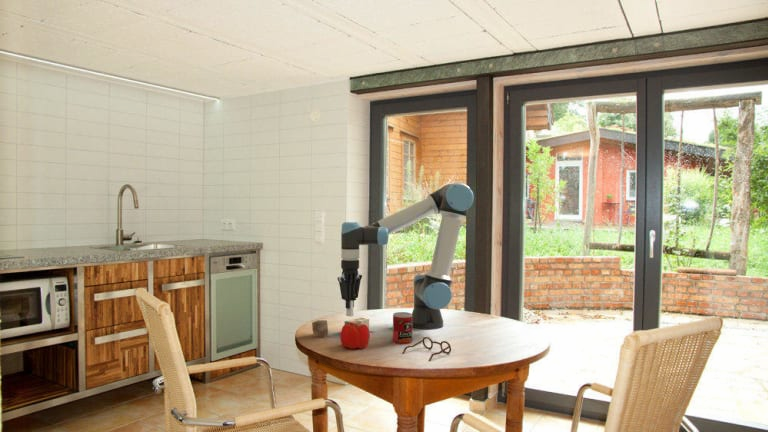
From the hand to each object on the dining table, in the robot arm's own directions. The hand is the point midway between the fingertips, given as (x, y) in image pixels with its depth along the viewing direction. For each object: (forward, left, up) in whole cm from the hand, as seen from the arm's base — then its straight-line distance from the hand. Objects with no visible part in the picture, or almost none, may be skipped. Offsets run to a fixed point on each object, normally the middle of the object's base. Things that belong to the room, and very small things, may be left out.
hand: (349, 315), depth 214 cm
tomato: (-15, +13, -8) cm, 21 cm away
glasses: (-40, +2, -9) cm, 41 cm away
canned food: (-23, -6, -8) cm, 25 cm away
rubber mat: (0, 0, -8) cm, 8 cm away
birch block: (0, +1, -5) cm, 5 cm away
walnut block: (+7, +10, -8) cm, 14 cm away
